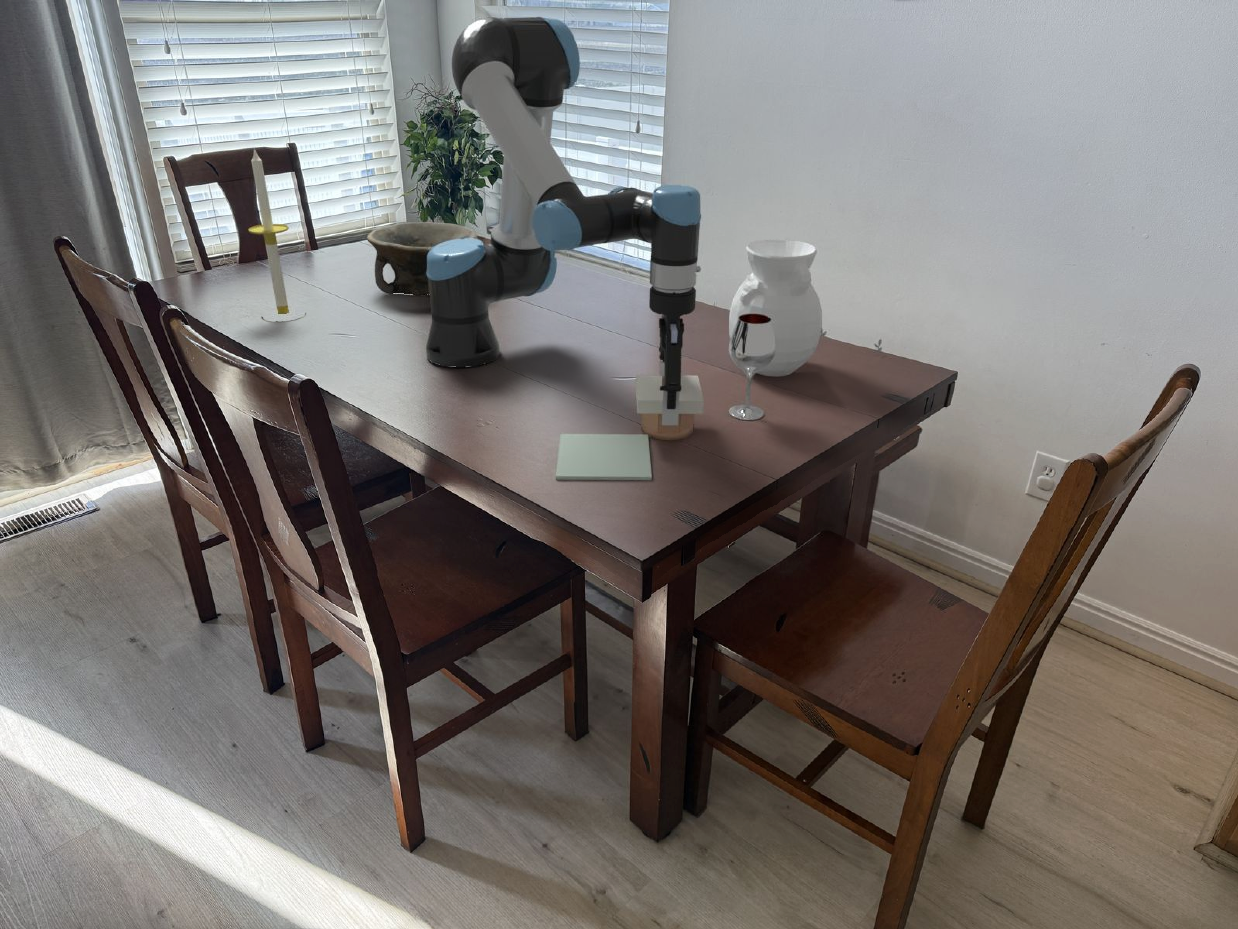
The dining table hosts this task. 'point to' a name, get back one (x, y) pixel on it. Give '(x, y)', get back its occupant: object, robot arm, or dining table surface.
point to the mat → (603, 457)
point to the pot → (667, 427)
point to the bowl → (410, 253)
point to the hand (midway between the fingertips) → (667, 409)
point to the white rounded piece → (782, 301)
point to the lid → (652, 397)
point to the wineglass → (751, 355)
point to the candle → (269, 235)
